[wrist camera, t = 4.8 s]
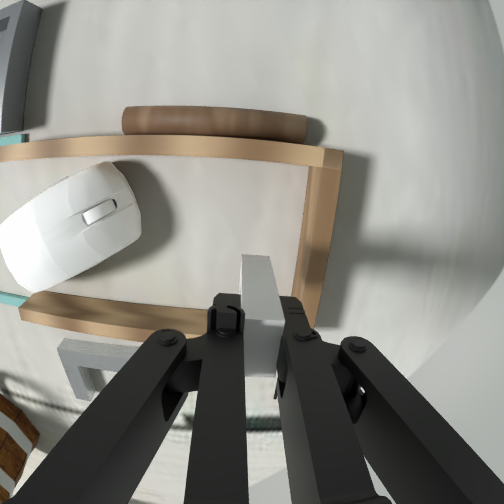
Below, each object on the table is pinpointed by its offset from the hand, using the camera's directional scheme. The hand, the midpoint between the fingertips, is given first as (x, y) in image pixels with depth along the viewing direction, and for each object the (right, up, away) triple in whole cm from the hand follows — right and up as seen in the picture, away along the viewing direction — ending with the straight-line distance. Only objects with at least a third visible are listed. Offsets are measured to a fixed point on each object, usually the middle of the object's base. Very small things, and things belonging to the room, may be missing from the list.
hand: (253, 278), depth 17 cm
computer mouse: (-14, +4, +5) cm, 16 cm away
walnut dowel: (-3, +10, +3) cm, 10 cm away
